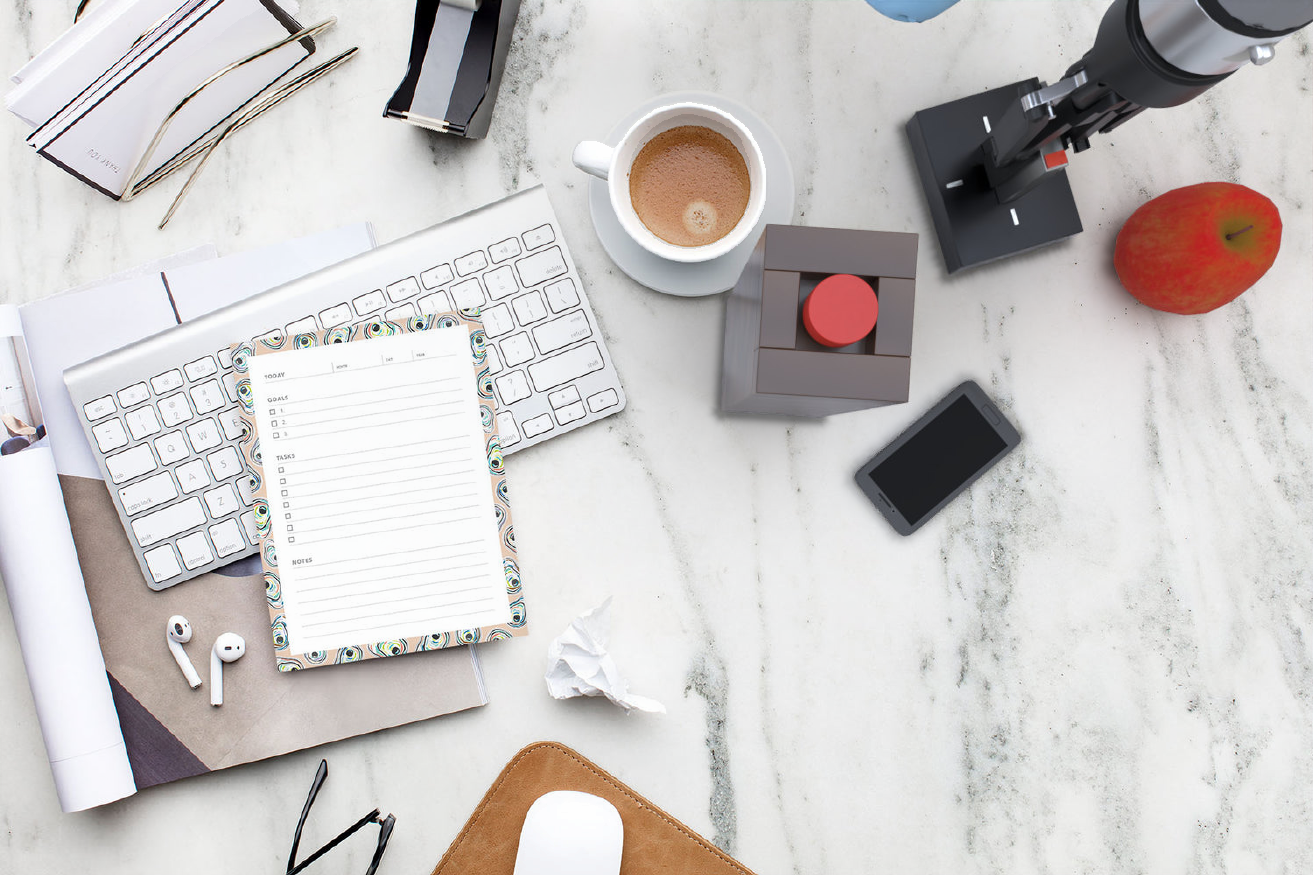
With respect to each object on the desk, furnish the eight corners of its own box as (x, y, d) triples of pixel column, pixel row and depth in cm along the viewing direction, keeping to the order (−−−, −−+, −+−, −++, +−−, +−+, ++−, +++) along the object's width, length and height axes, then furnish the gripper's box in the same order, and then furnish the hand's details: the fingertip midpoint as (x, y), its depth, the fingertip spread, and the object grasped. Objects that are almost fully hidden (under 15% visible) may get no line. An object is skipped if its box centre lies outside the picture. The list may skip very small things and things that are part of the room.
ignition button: (804, 278, 46) (810, 271, 44) (871, 282, 46) (880, 275, 44) (800, 345, 46) (806, 341, 44) (867, 349, 46) (876, 346, 44)
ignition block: (727, 299, 70) (766, 223, 46) (827, 306, 70) (919, 233, 46) (720, 410, 70) (755, 393, 46) (820, 417, 70) (908, 402, 46)
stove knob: (981, 143, 67) (1027, 101, 59) (1001, 137, 67) (1050, 94, 59) (999, 204, 67) (1048, 170, 59) (1019, 198, 67) (1071, 164, 59)
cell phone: (1021, 439, 69) (1025, 439, 69) (902, 539, 69) (905, 540, 69) (968, 377, 70) (972, 376, 69) (850, 476, 69) (852, 476, 69)
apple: (1190, 339, 70) (1286, 321, 59) (1079, 291, 70) (1156, 263, 59) (1237, 230, 70) (1342, 191, 59) (1126, 182, 70) (1212, 134, 59)
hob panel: (904, 125, 70) (916, 110, 67) (1021, 91, 70) (1038, 75, 67) (948, 274, 70) (962, 266, 67) (1065, 240, 70) (1085, 230, 67)
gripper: (1089, 117, 42) (933, 234, 66) (1350, 41, 42) (1101, 185, 66) (1050, -15, 42) (908, 149, 66) (1310, -91, 42) (1076, 100, 66)
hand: (1005, 167), depth 66 cm, fingers closed on stove knob, 2 cm apart
